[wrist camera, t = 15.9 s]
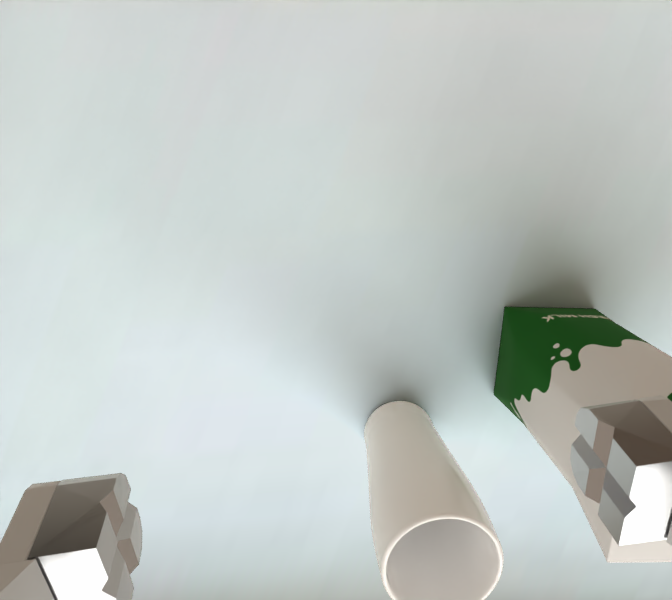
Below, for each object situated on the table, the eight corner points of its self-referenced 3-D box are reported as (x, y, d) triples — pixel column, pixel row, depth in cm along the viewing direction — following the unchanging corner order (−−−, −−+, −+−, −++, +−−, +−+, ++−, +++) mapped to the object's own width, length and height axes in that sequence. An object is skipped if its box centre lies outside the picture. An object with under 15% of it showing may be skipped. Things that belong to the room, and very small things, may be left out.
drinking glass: (341, 453, 45) (360, 603, 31) (372, 377, 44) (408, 498, 29) (420, 476, 46) (475, 632, 32) (453, 403, 45) (527, 532, 30)
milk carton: (608, 296, 43) (858, 429, 24) (589, 407, 45) (800, 608, 26) (493, 294, 42) (653, 428, 23) (479, 406, 45) (614, 611, 26)
